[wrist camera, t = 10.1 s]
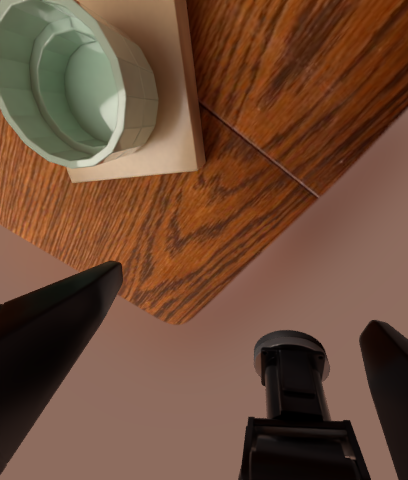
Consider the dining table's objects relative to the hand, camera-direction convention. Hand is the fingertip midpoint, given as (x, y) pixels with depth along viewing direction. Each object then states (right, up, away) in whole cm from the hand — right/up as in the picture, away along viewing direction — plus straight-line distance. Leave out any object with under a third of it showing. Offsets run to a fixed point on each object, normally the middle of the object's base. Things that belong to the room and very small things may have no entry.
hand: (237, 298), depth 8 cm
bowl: (-7, +11, +6) cm, 14 cm away
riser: (-7, +12, +9) cm, 16 cm away
